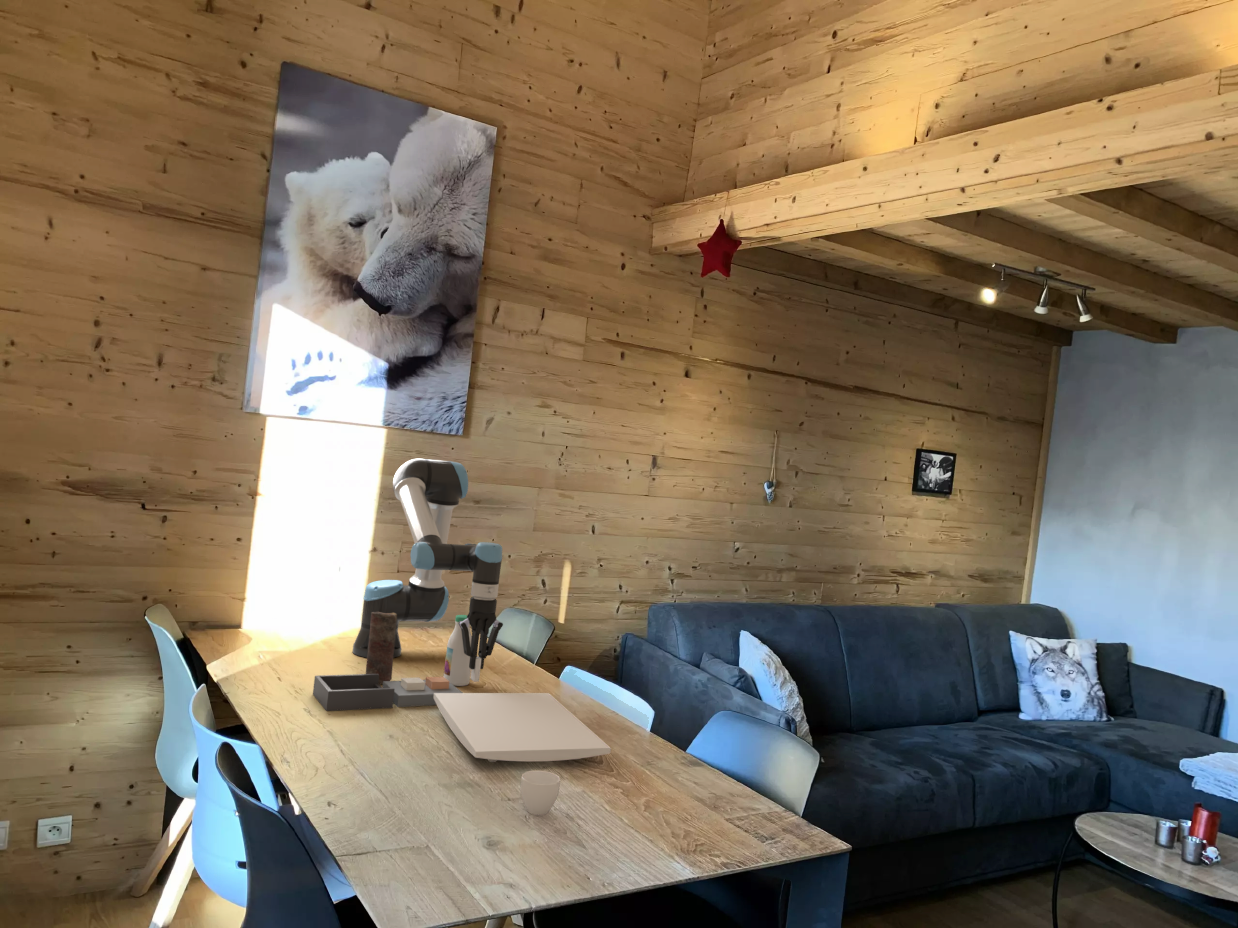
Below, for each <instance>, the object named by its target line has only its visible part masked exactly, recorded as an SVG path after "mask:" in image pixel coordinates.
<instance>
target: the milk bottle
mask: <svg viewBox="0 0 1238 928" xmlns="http://www.w3.org/2000/svg"><path fill="white" fill-rule="evenodd" d="M467 615H468V614H467ZM467 615H466V614H456V615H455V620H454V621H455V622H454V623H455V626H454V629H453V631H452V633H451V634H450V636H449V638H448V641H447V645H446V651H445V661H444V669H443V677H444V678H446V679H447V680H448V681H449V682H450V683H451V684H452V685H454V686H455V687H464V686H468V685H469V684H470V680H471V679H470V678H471V670H472V669H470V668H469V662H470V656H467V655H466V654H464V648H463V640H462V631H461V628H460V626H459V624H458V623H459V621H464V620H465V619H467ZM468 625H469V626H468V631H469V639H470V647H471V638H472V631H471V628H470V627H471V625H470V624H469V623H468Z"/></svg>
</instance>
